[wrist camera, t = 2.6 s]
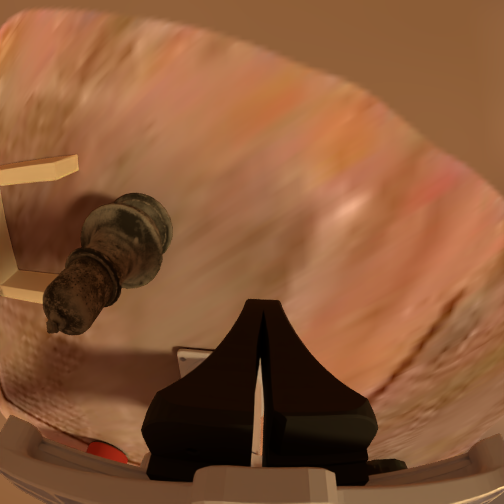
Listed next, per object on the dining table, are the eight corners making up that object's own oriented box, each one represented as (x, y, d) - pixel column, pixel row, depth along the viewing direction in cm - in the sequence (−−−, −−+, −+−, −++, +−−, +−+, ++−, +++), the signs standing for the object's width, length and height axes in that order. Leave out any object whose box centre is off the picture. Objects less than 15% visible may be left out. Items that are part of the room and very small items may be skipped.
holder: (98, 290, 24) (83, 310, 22) (14, 279, 25) (-3, 294, 22) (77, 154, 19) (54, 162, 17) (-11, 167, 20) (-33, 176, 17)
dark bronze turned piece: (111, 263, 23) (29, 368, 12) (98, 191, 21) (-16, 268, 10) (180, 264, 23) (123, 389, 12) (172, 186, 20) (83, 275, 10)
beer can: (84, 442, 38) (61, 500, 27) (101, 436, 36) (77, 501, 25) (116, 462, 40) (98, 519, 29) (136, 457, 38) (118, 521, 27)
